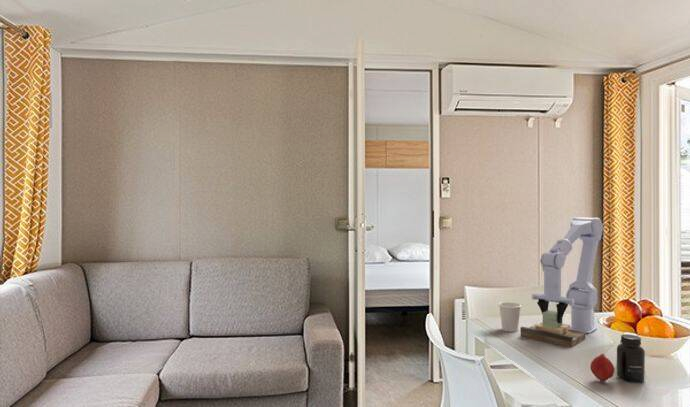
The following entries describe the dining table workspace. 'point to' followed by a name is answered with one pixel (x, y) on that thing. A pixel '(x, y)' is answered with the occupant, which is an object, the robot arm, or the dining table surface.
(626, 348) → the supplement bottle
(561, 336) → the dock
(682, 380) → the dining table surface
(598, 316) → the dining table surface
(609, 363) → the onion
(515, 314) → the dixie cup
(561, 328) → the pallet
